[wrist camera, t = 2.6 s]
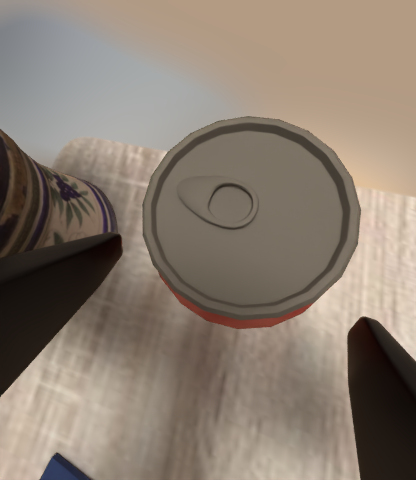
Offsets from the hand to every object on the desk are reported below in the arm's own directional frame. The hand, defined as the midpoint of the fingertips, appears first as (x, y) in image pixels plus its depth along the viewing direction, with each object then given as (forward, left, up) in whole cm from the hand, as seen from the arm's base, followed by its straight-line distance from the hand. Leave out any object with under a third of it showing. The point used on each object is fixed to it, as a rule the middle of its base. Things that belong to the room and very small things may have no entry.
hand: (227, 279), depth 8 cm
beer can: (+2, 0, -9) cm, 9 cm away
